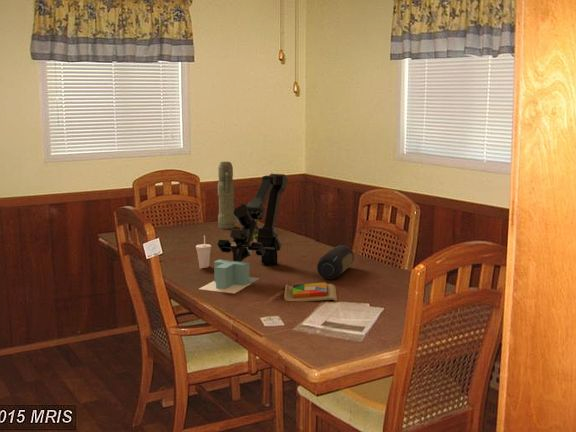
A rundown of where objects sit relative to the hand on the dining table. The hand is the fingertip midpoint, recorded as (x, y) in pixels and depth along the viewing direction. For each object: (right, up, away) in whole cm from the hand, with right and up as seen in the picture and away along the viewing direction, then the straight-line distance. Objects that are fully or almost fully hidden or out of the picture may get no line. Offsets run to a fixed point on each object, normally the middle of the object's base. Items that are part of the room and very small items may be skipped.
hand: (234, 265), depth 277 cm
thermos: (-12, +13, +106) cm, 108 cm away
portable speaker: (+40, -4, +14) cm, 43 cm away
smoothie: (-14, -3, +23) cm, 28 cm away
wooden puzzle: (+29, -10, -14) cm, 34 cm away
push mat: (-1, -7, -2) cm, 8 cm away
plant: (+5, +6, +70) cm, 70 cm away
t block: (-2, -7, -4) cm, 8 cm away
